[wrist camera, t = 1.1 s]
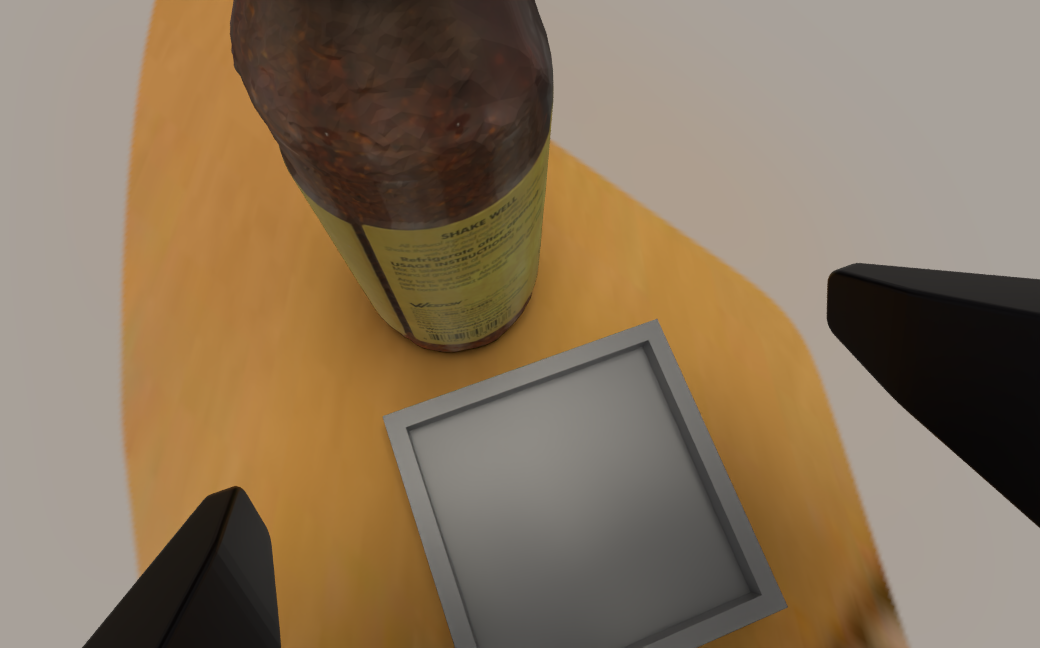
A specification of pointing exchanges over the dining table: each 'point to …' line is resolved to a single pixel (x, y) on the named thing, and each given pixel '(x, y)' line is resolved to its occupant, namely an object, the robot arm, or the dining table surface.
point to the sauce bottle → (413, 147)
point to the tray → (581, 505)
